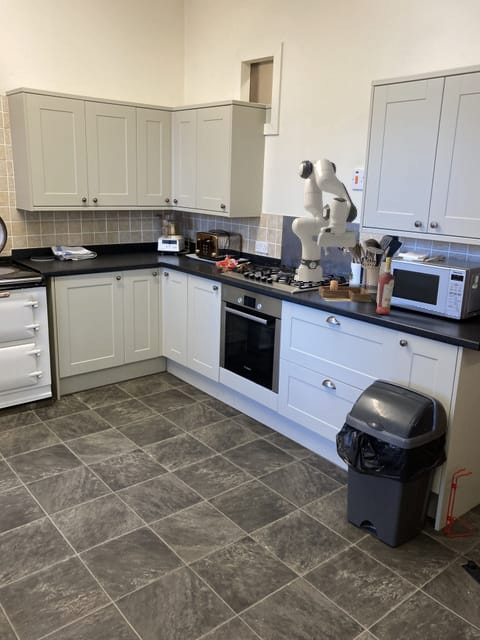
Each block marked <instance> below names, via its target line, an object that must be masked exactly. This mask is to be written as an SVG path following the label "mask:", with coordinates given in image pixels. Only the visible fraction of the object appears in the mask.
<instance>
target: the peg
mask: <svg viewBox="0 0 480 640" xmlns="http://www.w3.org/2000/svg"><path fill="white" fill-rule="evenodd" d="M329 286H330V290H338V287H339V280H330V285H329Z"/></svg>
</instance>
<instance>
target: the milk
mask: <svg viewBox="0 0 480 640" xmlns="http://www.w3.org/2000/svg"><path fill="white" fill-rule="evenodd" d="M385 267H386V261H381V262H380V268H379V274H378V277H379V276H380V275H381V274H384V272H385ZM378 288H379V281H378V284H377V289H378ZM375 300H376V301H375V302H376V303H377V304H378V290H377V291H376V299H375Z"/></svg>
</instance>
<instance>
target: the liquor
mask: <svg viewBox="0 0 480 640" xmlns="http://www.w3.org/2000/svg"><path fill="white" fill-rule="evenodd" d="M385 262H386V267H385V272H384V274H381V275H380V276H379V275H378V282H379V288H378V287H377V291H378V303H377V306H376V309H375V312H376V313H377V314H378V313H380V314H388V315H389V314H390V313H391V311H390V309H391V302H392V296H393V289H394V285H395V279H396V277H395V276H394V275H393V273H392V274H391V263H393V257H389V256H388V257H387V256H386V258H385ZM380 314H379V315H380Z"/></svg>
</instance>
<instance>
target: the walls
mask: <svg viewBox="0 0 480 640" xmlns="http://www.w3.org/2000/svg"><path fill="white" fill-rule="evenodd" d="M318 287H319V288H318V295H319V296H321V298H322V297H323V298H349V299H350V300H351V301H356V302H357V303H359V302H362V303H363V302H366V303H367V302H368V303H370V300H371V301H372V299H371V298H372V294H371V293H370V292H369V291H368V290H366V289H365V288H363V286H338V290H330V285H329V286H328V285H327V286H322V285H320V286H318ZM323 298H322V299H323ZM356 302H355V303H356Z"/></svg>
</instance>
